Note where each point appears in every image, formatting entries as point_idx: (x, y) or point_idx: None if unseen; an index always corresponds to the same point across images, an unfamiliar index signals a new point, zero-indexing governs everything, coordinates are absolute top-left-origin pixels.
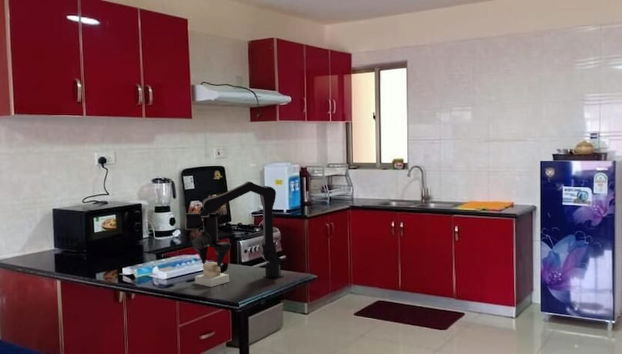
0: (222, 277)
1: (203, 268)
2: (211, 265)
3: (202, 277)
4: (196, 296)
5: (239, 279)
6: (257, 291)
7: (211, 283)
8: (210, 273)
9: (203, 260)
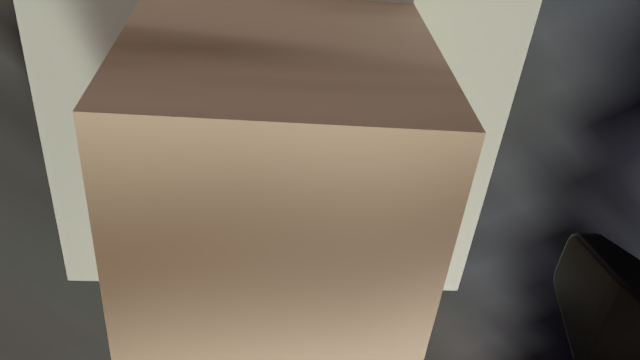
0: (47, 141)
1: (439, 69)
2: (83, 128)
3: None
4: None
5: (106, 336)
6: None
7: None
8: (169, 17)
9: (610, 305)
